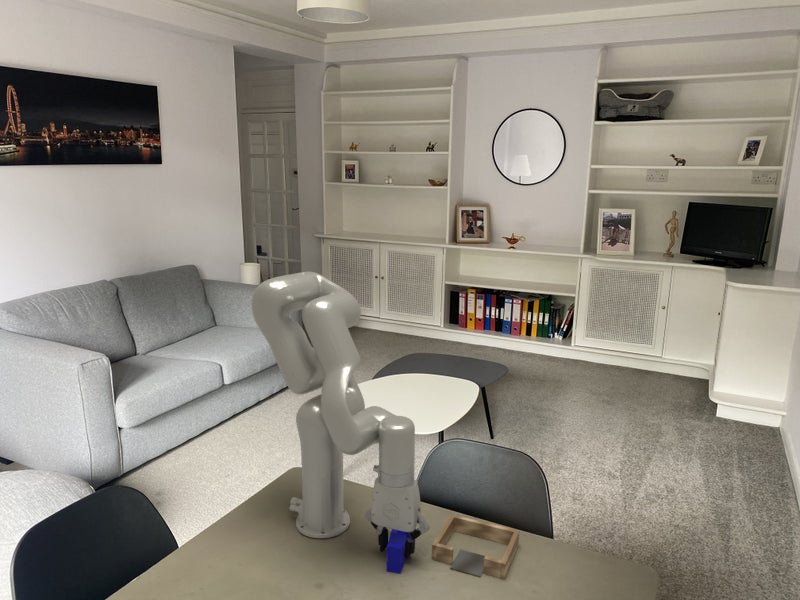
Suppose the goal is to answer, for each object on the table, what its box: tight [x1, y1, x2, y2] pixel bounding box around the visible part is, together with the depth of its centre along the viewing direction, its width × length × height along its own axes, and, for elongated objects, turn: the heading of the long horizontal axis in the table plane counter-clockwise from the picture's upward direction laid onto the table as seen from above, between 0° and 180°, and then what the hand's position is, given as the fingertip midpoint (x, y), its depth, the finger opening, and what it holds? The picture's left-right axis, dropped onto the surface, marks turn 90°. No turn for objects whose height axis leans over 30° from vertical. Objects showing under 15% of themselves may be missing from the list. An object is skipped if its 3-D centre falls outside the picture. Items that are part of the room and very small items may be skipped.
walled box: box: [431, 514, 520, 580], centre depth 135 cm, size 16×14×4 cm
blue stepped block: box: [386, 529, 407, 575], centre depth 134 cm, size 12×4×6 cm, turn 167°
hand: (396, 551), depth 134 cm, fingers closed on blue stepped block, 5 cm apart
